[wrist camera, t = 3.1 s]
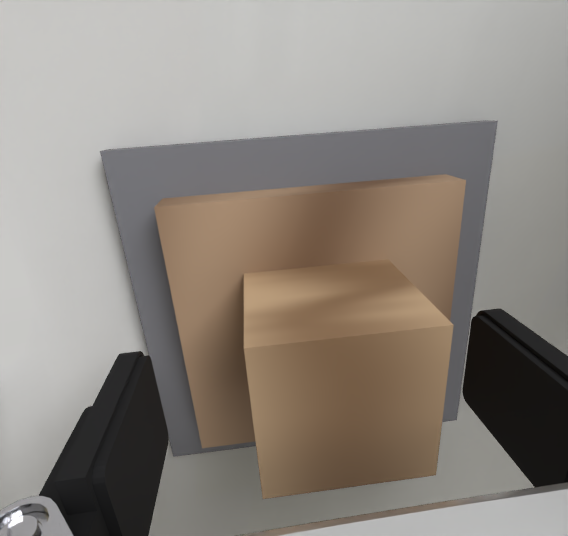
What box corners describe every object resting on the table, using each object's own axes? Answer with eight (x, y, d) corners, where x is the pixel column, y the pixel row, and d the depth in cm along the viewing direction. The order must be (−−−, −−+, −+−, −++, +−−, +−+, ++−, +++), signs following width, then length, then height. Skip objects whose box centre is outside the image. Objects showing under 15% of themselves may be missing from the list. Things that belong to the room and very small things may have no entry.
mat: (486, 120, 12) (497, 121, 12) (449, 410, 17) (456, 419, 16) (106, 149, 12) (100, 151, 11) (176, 444, 16) (173, 456, 16)
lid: (445, 174, 12) (576, 212, 7) (425, 396, 16) (505, 521, 11) (162, 198, 12) (106, 257, 7) (204, 423, 15) (187, 568, 10)
